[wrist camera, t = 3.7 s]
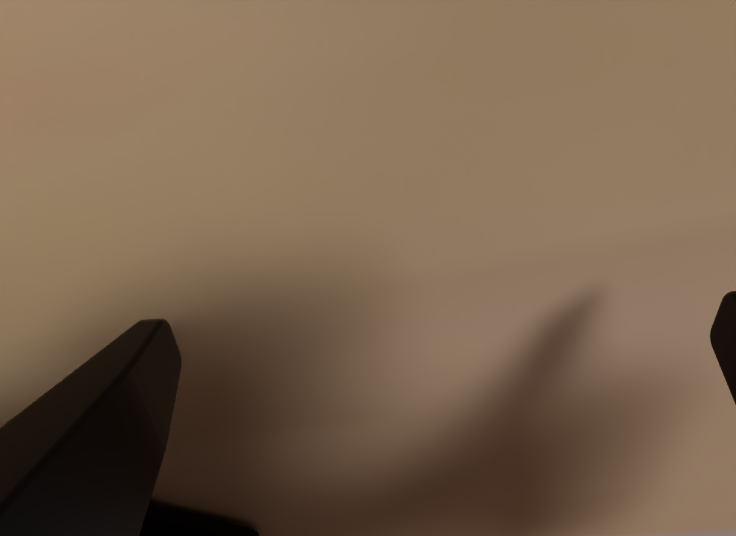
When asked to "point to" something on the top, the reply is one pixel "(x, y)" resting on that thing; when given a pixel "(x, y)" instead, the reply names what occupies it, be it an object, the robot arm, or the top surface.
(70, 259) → the top surface
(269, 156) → the top surface
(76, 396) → the robot arm
